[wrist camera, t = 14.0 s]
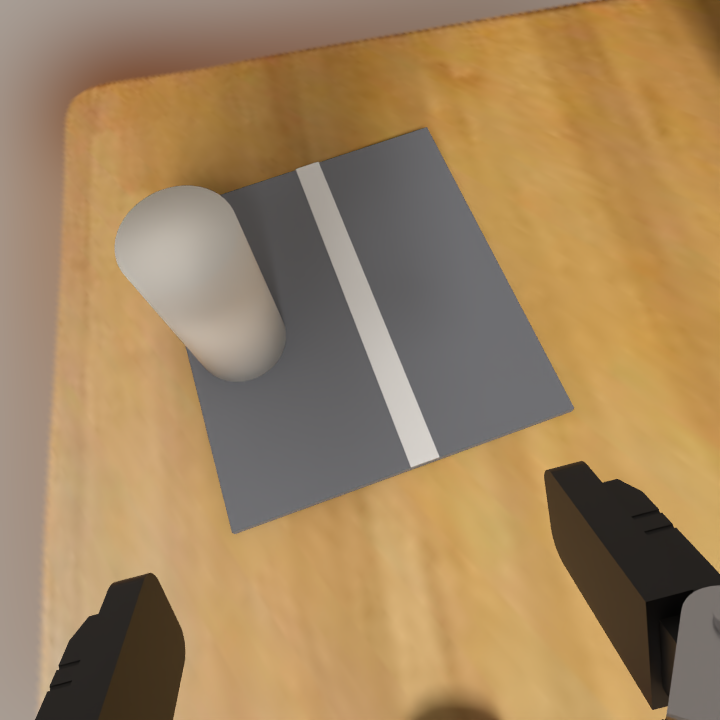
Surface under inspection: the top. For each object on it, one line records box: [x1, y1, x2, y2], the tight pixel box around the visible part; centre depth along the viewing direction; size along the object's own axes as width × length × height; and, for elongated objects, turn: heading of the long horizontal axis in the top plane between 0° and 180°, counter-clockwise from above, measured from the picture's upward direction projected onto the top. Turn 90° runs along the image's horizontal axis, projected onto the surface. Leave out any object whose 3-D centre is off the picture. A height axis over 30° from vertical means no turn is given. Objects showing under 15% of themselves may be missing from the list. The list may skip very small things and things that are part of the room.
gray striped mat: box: [186, 127, 574, 534], centre depth 34 cm, size 18×20×1 cm
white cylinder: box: [115, 186, 286, 382], centre depth 28 cm, size 5×5×10 cm
